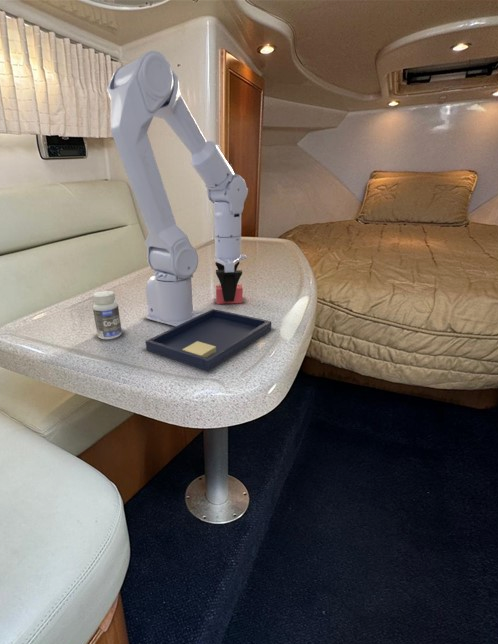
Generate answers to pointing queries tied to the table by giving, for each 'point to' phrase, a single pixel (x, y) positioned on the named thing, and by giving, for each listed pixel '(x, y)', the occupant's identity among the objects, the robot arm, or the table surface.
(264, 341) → the table surface
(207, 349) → the beige square tile
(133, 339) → the table surface
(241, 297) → the eraser
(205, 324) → the tray
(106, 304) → the pill bottle
